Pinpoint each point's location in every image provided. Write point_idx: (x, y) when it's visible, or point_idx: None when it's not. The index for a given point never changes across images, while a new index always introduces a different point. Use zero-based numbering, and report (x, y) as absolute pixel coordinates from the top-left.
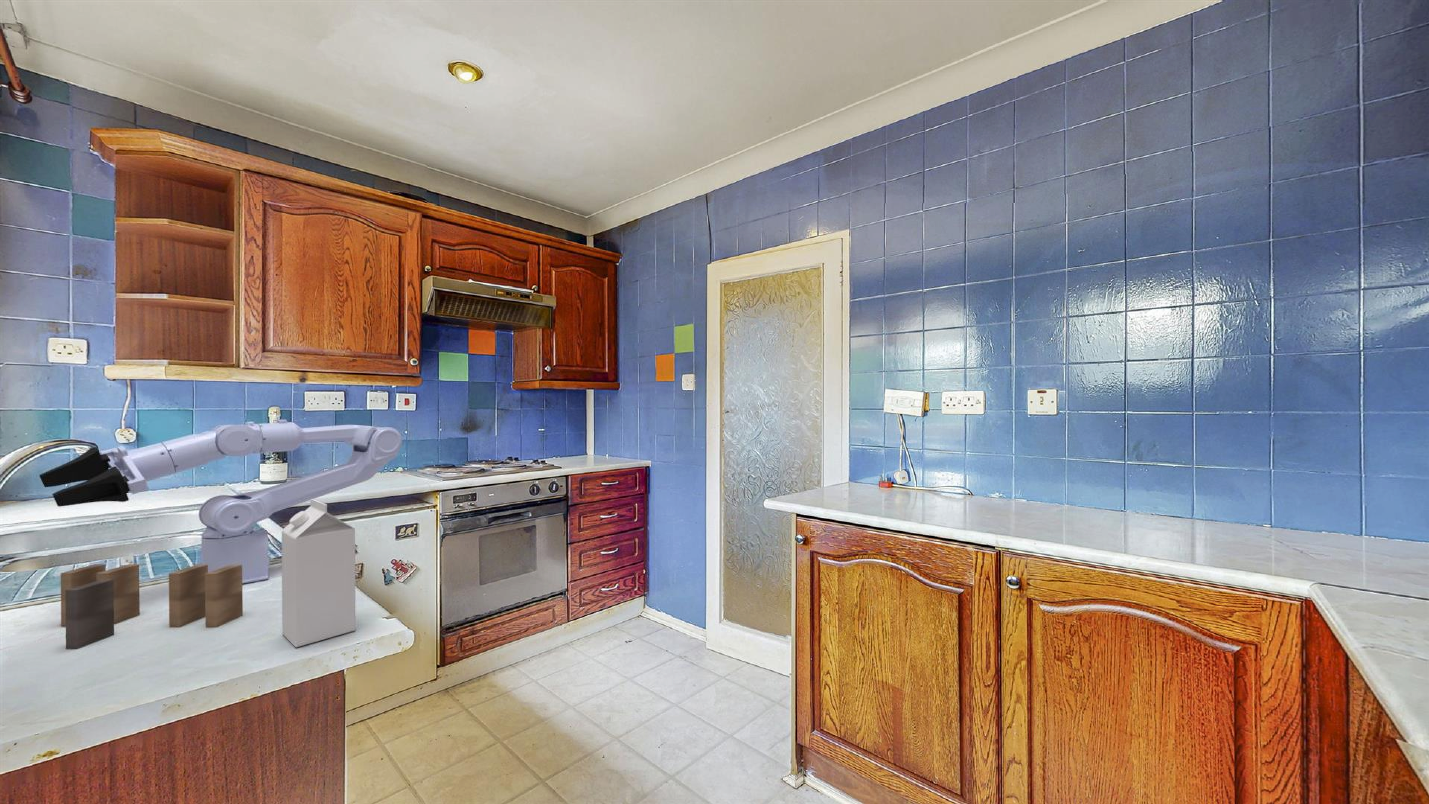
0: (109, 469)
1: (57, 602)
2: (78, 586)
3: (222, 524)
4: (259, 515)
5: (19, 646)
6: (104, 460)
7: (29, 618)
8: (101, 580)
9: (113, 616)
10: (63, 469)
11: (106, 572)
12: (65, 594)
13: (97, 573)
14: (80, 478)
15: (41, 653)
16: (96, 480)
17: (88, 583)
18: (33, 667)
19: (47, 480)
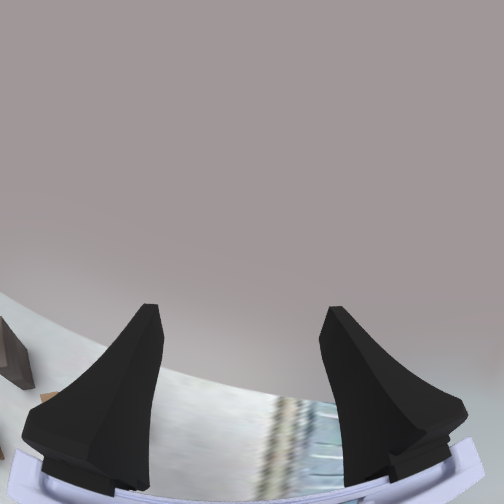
0: (91, 433)
1: (265, 429)
2: (1, 331)
3: None
4: None
5: (86, 343)
6: (386, 465)
7: (209, 394)
8: (2, 360)
9: (13, 383)
10: (351, 350)
11: (46, 398)
12: (3, 319)
13: (56, 392)
14: (342, 409)
15: (37, 335)
16: (80, 379)
17: (4, 346)
18: (7, 311)
19: (326, 331)
